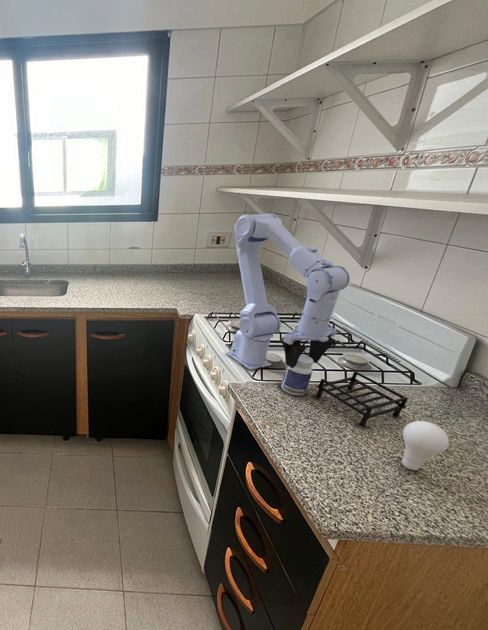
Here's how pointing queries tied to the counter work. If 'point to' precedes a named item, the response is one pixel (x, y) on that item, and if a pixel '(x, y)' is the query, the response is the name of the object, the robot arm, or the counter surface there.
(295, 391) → the pill bottle
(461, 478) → the counter surface
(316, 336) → the robot arm
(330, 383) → the wire rack
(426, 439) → the lightbulb
